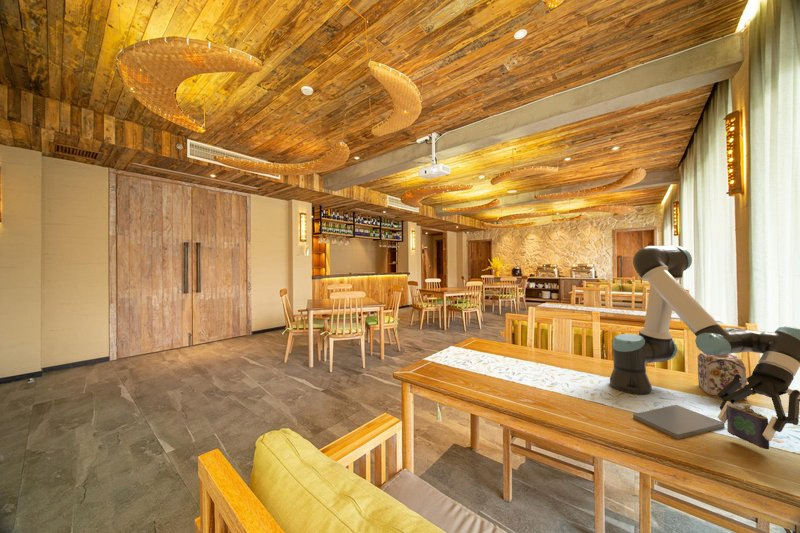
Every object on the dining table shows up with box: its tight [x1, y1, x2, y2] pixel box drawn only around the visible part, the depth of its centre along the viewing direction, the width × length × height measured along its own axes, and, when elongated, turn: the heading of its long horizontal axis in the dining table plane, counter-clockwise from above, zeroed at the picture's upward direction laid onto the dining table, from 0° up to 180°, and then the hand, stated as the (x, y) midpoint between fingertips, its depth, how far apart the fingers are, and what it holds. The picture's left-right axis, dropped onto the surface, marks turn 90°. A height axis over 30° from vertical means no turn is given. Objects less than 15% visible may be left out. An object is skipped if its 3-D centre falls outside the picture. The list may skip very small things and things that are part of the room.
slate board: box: [632, 404, 725, 440], centre depth 103 cm, size 14×22×2 cm, turn 105°
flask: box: [726, 404, 770, 450], centre depth 89 cm, size 9×3×11 cm, turn 8°
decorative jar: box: [697, 352, 748, 401], centre depth 125 cm, size 12×12×18 cm
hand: (742, 428), depth 88 cm, fingers closed on flask, 9 cm apart
